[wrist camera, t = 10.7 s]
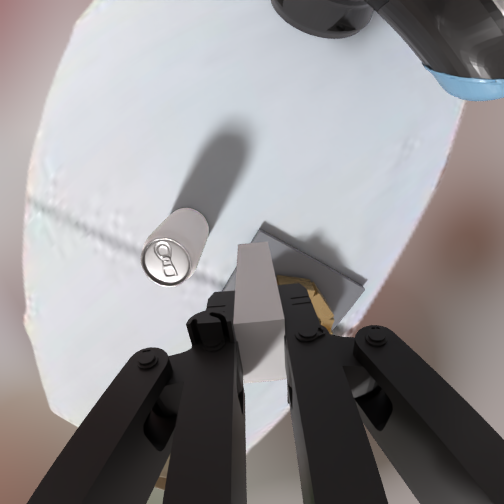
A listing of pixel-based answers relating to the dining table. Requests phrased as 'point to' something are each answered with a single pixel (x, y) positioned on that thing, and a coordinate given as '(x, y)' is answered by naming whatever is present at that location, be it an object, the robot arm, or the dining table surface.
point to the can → (175, 247)
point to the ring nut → (312, 299)
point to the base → (309, 275)
